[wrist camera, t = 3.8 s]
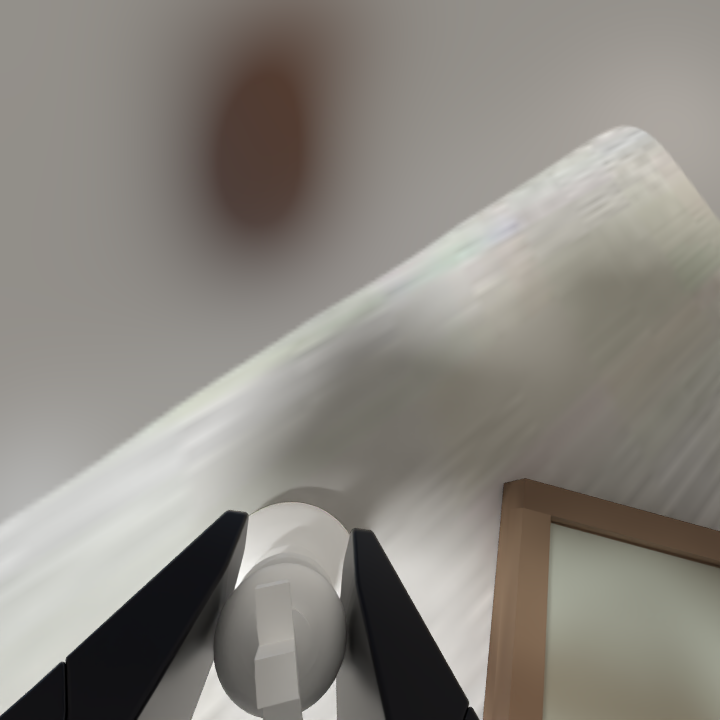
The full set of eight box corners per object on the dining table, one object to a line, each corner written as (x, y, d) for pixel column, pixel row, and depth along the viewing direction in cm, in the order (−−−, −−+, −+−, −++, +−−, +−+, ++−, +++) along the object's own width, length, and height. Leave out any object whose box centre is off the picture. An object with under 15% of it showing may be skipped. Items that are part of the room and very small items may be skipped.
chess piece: (349, 491, 15) (437, 426, 6) (374, 651, 13) (554, 915, 4) (206, 515, 14) (43, 481, 5) (211, 691, 12) (-27, 1155, 3)
